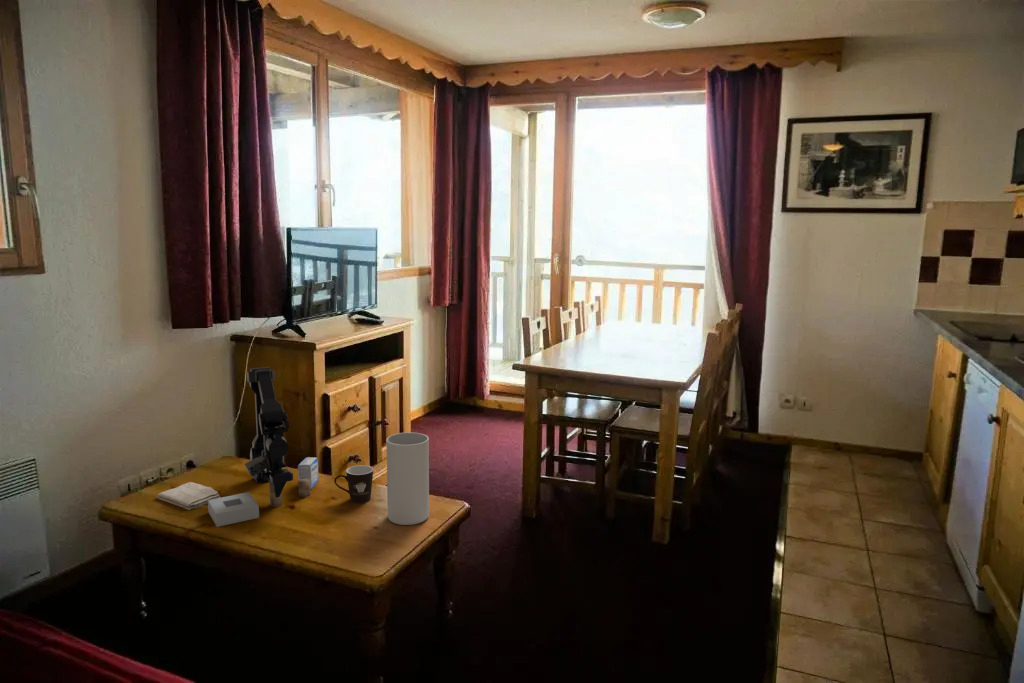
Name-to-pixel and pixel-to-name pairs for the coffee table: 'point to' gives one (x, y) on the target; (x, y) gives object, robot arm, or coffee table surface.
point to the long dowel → (274, 497)
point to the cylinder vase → (407, 478)
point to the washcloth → (189, 495)
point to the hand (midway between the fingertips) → (275, 495)
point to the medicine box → (309, 470)
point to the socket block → (233, 509)
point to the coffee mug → (358, 483)
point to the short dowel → (304, 487)
